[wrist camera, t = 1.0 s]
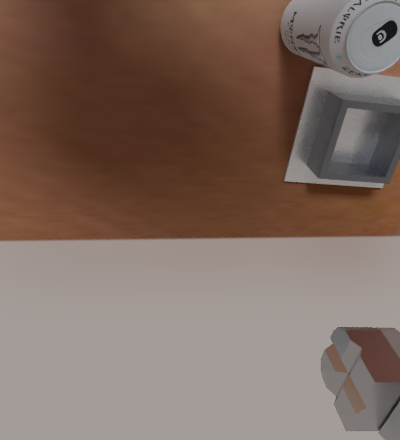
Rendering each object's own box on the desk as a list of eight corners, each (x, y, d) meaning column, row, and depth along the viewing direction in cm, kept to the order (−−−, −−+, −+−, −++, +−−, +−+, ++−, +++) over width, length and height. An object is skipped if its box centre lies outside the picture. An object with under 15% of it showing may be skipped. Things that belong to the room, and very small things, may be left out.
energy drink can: (267, 17, 39) (324, 29, 26) (317, -24, 38) (403, -33, 25) (294, 66, 42) (358, 98, 29) (342, 29, 40) (431, 47, 28)
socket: (311, 65, 42) (328, 73, 38) (421, 78, 45) (449, 87, 40) (281, 178, 49) (294, 195, 45) (378, 185, 52) (398, 202, 47)
